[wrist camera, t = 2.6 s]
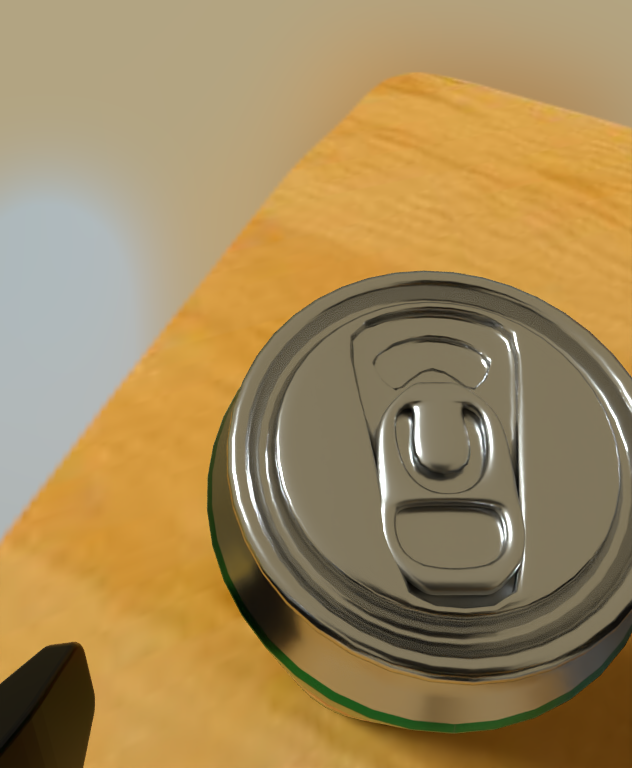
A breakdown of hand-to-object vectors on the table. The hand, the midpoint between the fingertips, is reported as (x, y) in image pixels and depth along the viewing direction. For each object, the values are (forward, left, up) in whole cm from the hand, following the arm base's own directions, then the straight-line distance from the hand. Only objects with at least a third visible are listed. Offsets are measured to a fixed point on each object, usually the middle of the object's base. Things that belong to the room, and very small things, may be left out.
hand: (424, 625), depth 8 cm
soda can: (+1, 0, -9) cm, 9 cm away
